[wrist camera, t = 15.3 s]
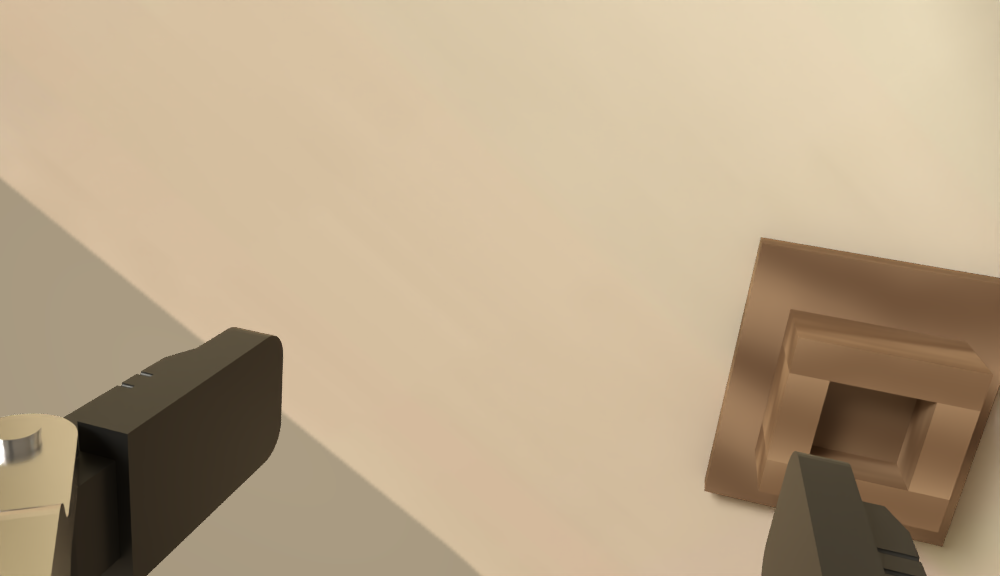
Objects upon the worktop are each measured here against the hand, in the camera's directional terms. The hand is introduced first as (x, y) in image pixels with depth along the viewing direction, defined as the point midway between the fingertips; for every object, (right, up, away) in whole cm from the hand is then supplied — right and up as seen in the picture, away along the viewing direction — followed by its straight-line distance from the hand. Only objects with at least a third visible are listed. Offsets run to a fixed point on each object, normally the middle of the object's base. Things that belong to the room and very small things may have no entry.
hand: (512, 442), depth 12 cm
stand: (+18, -3, +29) cm, 34 cm away
